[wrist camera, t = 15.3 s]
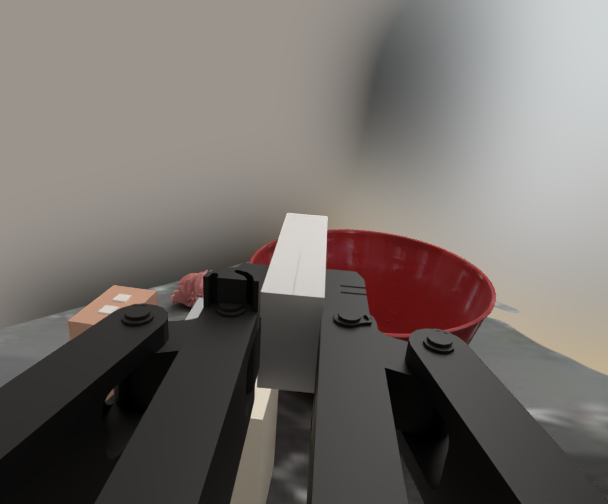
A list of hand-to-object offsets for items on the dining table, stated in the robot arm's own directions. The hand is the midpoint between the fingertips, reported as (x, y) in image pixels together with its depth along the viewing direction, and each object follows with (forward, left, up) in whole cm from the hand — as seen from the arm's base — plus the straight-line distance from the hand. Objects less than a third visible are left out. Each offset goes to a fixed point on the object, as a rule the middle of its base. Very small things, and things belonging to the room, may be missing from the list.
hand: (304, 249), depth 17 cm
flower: (-28, -43, -30) cm, 60 cm away
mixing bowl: (-31, -14, -30) cm, 46 cm away
